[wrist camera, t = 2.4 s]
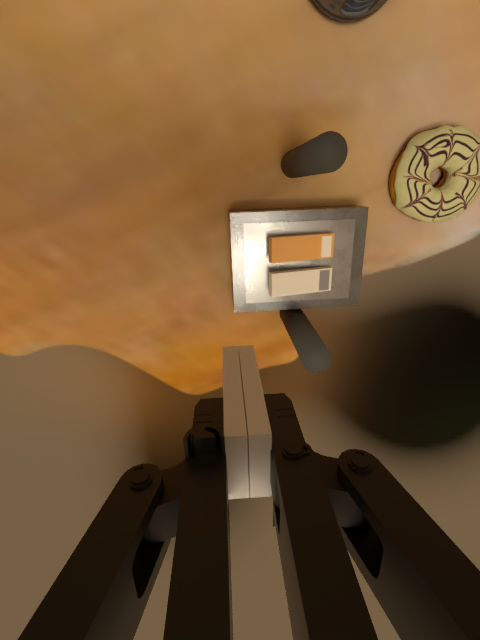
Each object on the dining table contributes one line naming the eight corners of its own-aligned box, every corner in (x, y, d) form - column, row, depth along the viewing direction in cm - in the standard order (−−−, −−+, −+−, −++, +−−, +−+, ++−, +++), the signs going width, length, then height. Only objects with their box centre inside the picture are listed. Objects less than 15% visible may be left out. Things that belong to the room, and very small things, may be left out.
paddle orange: (268, 261, 38) (272, 263, 37) (268, 236, 37) (272, 238, 36) (328, 256, 40) (333, 257, 39) (330, 232, 39) (335, 233, 38)
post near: (280, 178, 40) (309, 173, 27) (281, 150, 39) (311, 131, 26) (305, 177, 40) (345, 172, 27) (306, 149, 39) (348, 130, 26)
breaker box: (233, 302, 46) (234, 314, 41) (228, 210, 41) (229, 213, 37) (348, 296, 46) (362, 307, 42) (356, 205, 42) (372, 207, 38)
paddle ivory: (268, 295, 40) (272, 297, 39) (268, 272, 39) (272, 274, 38) (326, 288, 41) (331, 290, 40) (328, 266, 40) (332, 268, 39)
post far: (279, 323, 47) (302, 373, 34) (279, 303, 46) (303, 347, 33) (300, 321, 47) (331, 372, 34) (301, 302, 46) (333, 346, 33)
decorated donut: (393, 128, 39) (410, 122, 36) (480, 129, 40) (505, 123, 36) (379, 220, 43) (393, 223, 40) (459, 220, 44) (480, 222, 40)
